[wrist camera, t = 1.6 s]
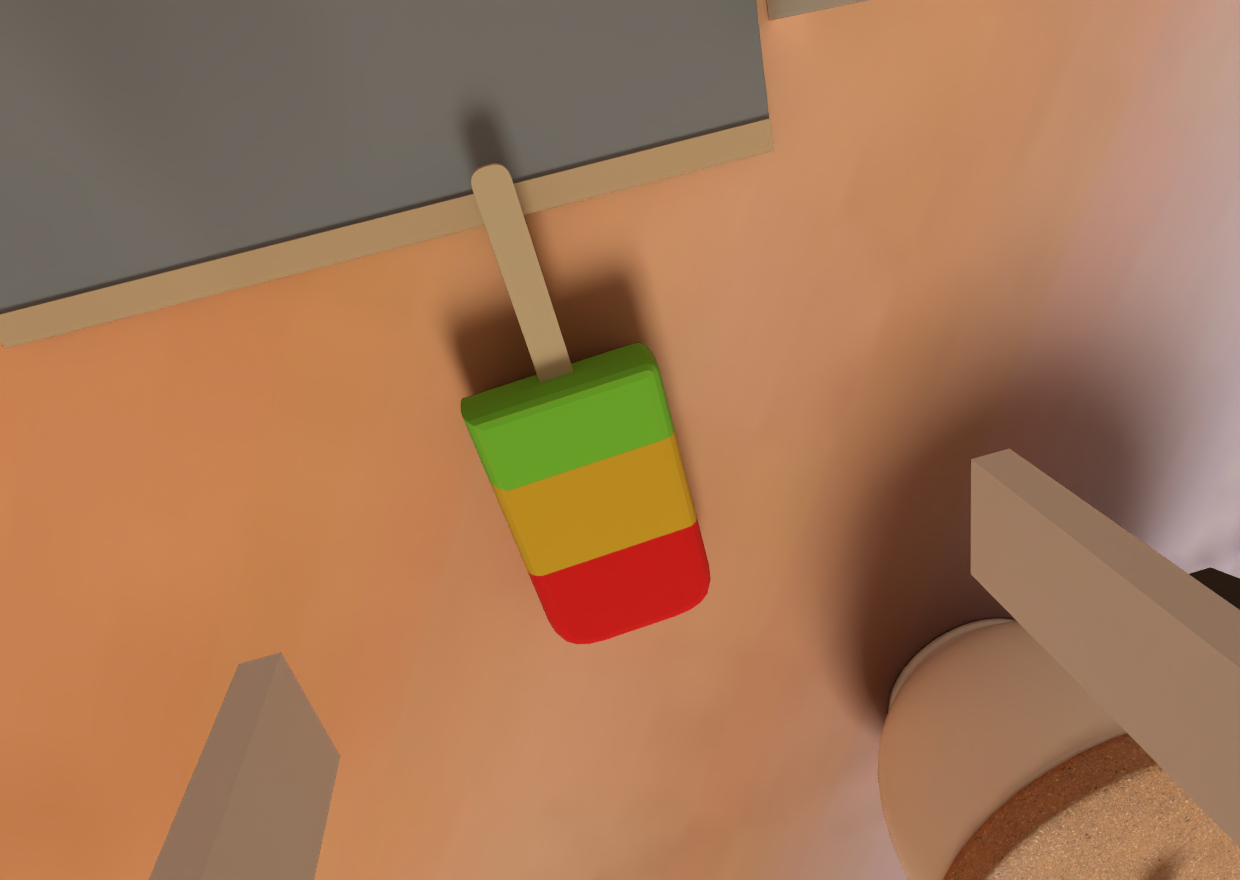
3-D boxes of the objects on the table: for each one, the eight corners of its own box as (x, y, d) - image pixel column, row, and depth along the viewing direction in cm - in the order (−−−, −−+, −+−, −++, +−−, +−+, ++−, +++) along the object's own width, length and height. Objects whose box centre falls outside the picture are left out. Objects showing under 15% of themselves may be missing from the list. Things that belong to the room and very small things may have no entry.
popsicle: (555, 622, 26) (562, 661, 24) (377, 192, 18) (369, 207, 17) (705, 571, 26) (722, 607, 25) (589, 126, 19) (603, 135, 17)
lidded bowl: (1067, 768, 35) (1300, 1035, 25) (812, 815, 33) (956, 1124, 23) (1143, 541, 29) (1478, 771, 20) (842, 582, 28) (1048, 859, 18)
